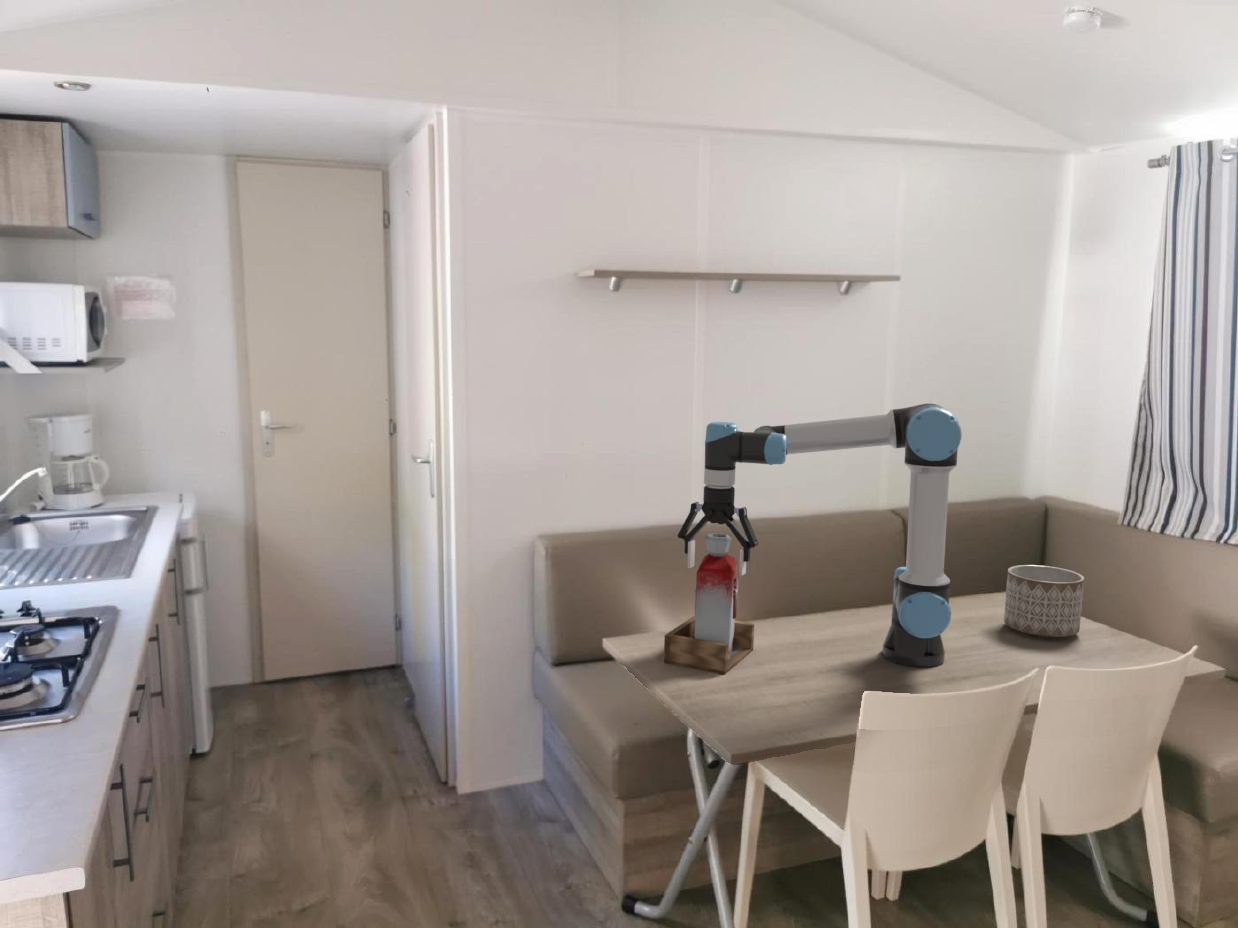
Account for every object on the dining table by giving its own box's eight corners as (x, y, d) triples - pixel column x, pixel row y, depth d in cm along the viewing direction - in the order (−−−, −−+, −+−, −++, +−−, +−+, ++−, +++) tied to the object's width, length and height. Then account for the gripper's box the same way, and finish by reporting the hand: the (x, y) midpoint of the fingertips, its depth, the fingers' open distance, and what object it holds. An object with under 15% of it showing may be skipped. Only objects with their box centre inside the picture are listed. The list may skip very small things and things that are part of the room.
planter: (1083, 628, 277) (1089, 571, 275) (1073, 647, 261) (1078, 586, 259) (1011, 616, 287) (1015, 561, 285) (996, 633, 271) (1001, 575, 269)
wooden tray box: (753, 650, 253) (754, 623, 252) (725, 674, 236) (726, 646, 235) (695, 639, 261) (696, 614, 260) (663, 662, 243) (664, 635, 242)
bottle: (732, 664, 240) (737, 543, 235) (690, 660, 241) (694, 540, 237) (737, 645, 254) (741, 530, 249) (697, 642, 256) (701, 528, 251)
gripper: (773, 488, 239) (769, 573, 242) (678, 478, 250) (676, 560, 253) (763, 493, 232) (759, 580, 236) (666, 483, 244) (663, 567, 247)
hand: (716, 570), depth 244 cm, fingers open, 13 cm apart
